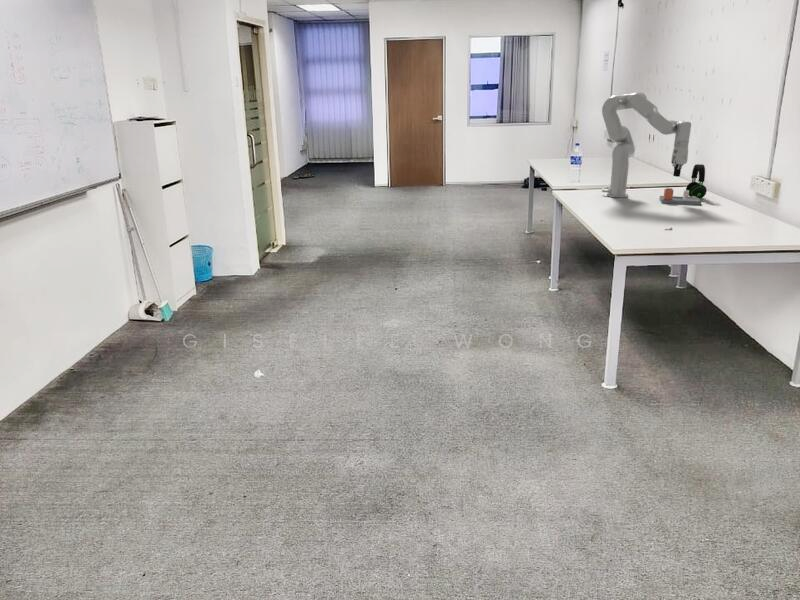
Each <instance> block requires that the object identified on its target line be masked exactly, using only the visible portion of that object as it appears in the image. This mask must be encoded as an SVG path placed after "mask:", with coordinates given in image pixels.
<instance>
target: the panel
mask: <svg viewBox="0 0 800 600" xmlns="http://www.w3.org/2000/svg"><path fill="white" fill-rule="evenodd" d="M663 197H664V195H659V201H660V203H661V204H662V203H666V205H686V204H693V205H692V206H701V205H702V200H700V199H701V198H700V199H699V198H698V197H696V196H692V197H690V196H688V197H685V196H674V195H673V198H672V200H665V199H663Z"/></svg>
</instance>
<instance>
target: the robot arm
mask: <svg viewBox="0 0 800 600" xmlns="http://www.w3.org/2000/svg"><path fill="white" fill-rule="evenodd" d="M629 109H632V110H634V111H635V112H636V113H638V114H640V116H642V117H643V118H644V119H645V120H646V122H648V123H649V124H650V126H651V127H653V129H655V130H656V131H657V132H659V133H660V134H662V135H665V136H667V135H672V134H675V135H674V141H673V142H674V144H673V150H672V154H671V160H670V161H671V162H670V163H671V164H672V165H671V166H672V167H673V177H676V178H677V177H680V176H681V173H682V172H681V171H682V168H683V166H684V165H685V164H687V163H688V158H689V143H690V136H691V130H692V122H690V121H682V120H681V121H677V120H668V119H667V118H666V117H664V116H663V115H662V114H661V113H660V112H659V110H658V107H657V106H656V104H653V102H651V101H650V100H649V99H648V98H647V95H646V94H645V93H644V92H634V93H627V94H619V95H617V94H615V95H611V96H610V97H608V98H607V99H606V100H605V101H604V102H603V105H602V108H601V113H602V117H603V121H604V124H605V128H606V131H607V135H608V137H609V140H610V142H612V143H616V146H614V148H613V150H612V154H611V155H612V156H611V157H612V158H611V159H612V163H611V164H612V165H611V176H610V184H609V185H610V186H609V188H601V192H602V193H606V196H607V197H609V196H610V197H611V198H628V196H629V194H628V193H627V187H628V186H627V185H628V176H629V165H630V163H629V162H630V161H629V160H630V159H629V158H631V157H632V156H633V155H634V154H635V150H636V147H635V145H634V141H633V138H632V135H631V132H630V130H629V128H628V127H627V126H625V125H622V122H621V119H620V117H619V115H618V113H617V111H621V110H629Z"/></svg>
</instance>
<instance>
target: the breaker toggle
mask: <svg viewBox="0 0 800 600" xmlns="http://www.w3.org/2000/svg"><path fill="white" fill-rule="evenodd" d="M682 195H683V196H685V197H690V196H689V190H686V189H684V190H683V194H682ZM683 196H682V197H683Z"/></svg>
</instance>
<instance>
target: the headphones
mask: <svg viewBox="0 0 800 600" xmlns="http://www.w3.org/2000/svg"><path fill="white" fill-rule="evenodd" d="M705 176H706V167H705V165H704V164H700V163H698V164H696V163H695V165H694V166H693V168H692V172H691V177H690V178H691V179H692V180H691V182H689V183H688V184H687V186H686V188H685V190H689V196H688V197H692V196H696V197H698V198H699V199H702V198H704V197H705V196H706V195H707V191H708V190H707V187H706V186H705V185H704V182H705V178H706V177H705ZM696 179H698V182H697V180H696Z"/></svg>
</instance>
